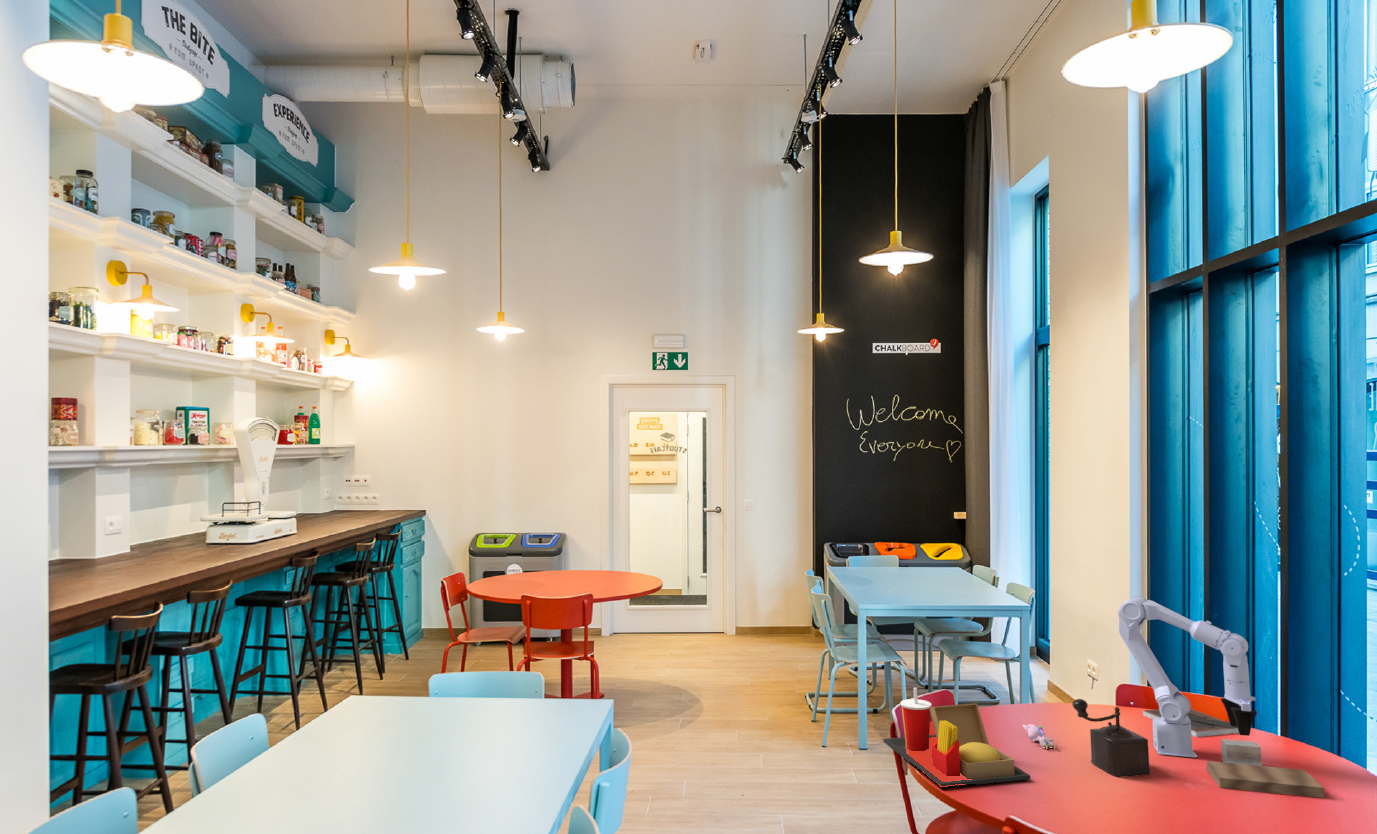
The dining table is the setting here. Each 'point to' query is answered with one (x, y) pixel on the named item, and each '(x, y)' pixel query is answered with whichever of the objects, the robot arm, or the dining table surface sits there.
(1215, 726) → the picture frame
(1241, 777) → the walnut plinth
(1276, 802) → the dining table surface
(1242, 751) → the aluminium block
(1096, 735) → the dark brown coffee grinder
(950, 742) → the fast food meal
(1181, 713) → the robot arm
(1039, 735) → the unicorn plush toy
